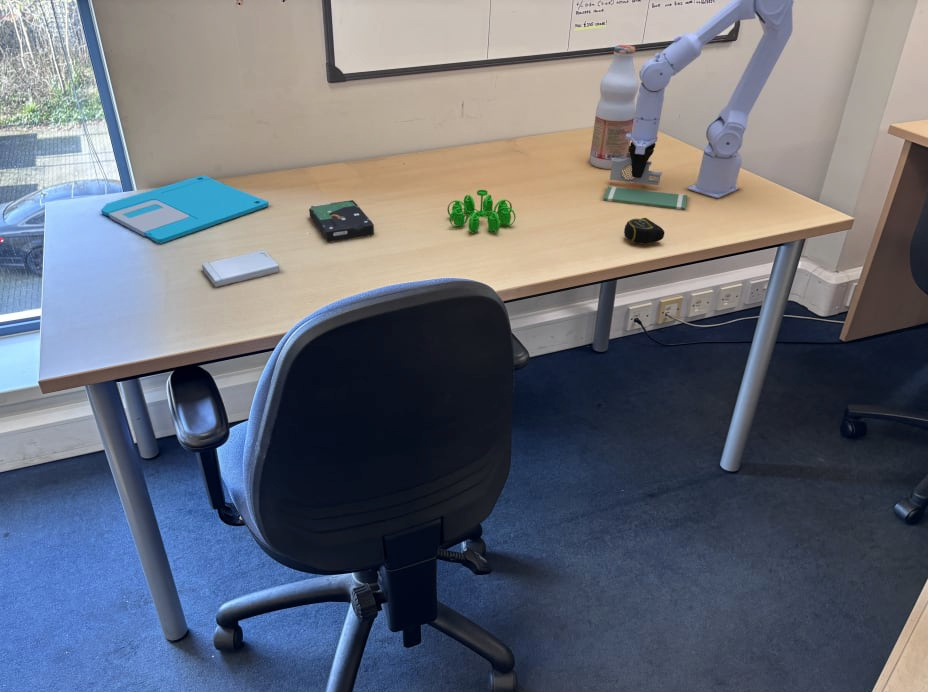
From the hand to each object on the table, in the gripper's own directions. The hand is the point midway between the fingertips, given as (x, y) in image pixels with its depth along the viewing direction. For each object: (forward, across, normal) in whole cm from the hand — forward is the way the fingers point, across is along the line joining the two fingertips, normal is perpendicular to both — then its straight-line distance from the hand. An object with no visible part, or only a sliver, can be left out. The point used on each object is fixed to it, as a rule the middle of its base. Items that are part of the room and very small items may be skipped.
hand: (637, 175), depth 176 cm
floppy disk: (+3, +48, -94) cm, 106 cm away
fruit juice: (+3, -15, -8) cm, 17 cm away
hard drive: (+3, +71, -66) cm, 97 cm away
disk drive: (+3, +45, -57) cm, 73 cm away
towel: (+3, +8, +3) cm, 9 cm away
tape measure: (+3, +31, +4) cm, 31 cm away
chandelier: (+3, +33, -29) cm, 44 cm away
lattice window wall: (+2, 0, 0) cm, 2 cm away
